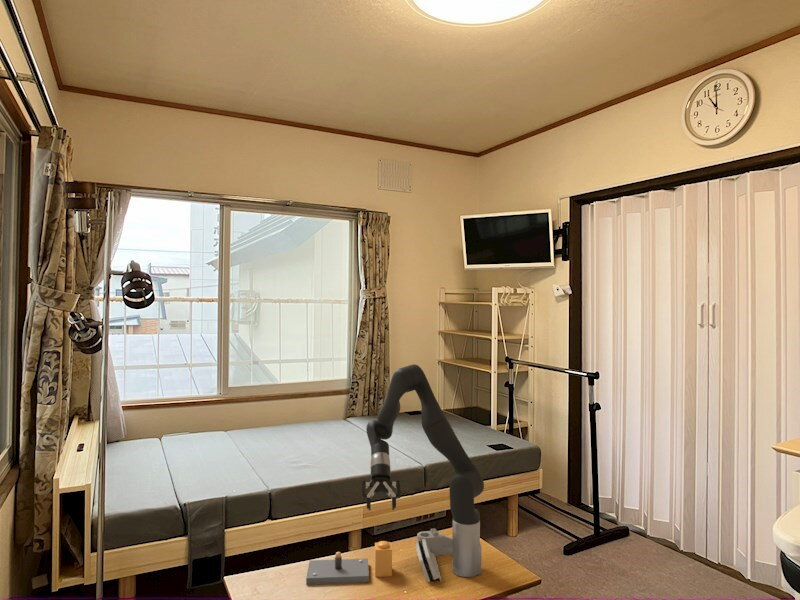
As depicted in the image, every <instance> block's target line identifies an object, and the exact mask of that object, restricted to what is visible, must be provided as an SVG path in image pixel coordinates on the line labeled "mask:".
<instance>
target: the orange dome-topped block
mask: <svg viewBox="0 0 800 600" xmlns="http://www.w3.org/2000/svg"><path fill="white" fill-rule="evenodd" d="M392 546H393V545H392V542H390V541H387V540H380V541H378V542H374V576H375V578H380V577H383V578H384V577H393V549H392V548H393V547H392Z"/></svg>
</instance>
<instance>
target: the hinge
mask: <svg viewBox="0 0 800 600" xmlns="http://www.w3.org/2000/svg"><path fill="white" fill-rule="evenodd" d="M421 544H422V545H421ZM415 549H416V554H417V558H418V561H419V564H420V567H421V570H422V573H423V575H424V578H425V581H426V583H430V582H431V580H434V581H436V579H437V580H439V581H440V582H443V581H442V577H441V573H440V570H439V566H438V561H437V558H436V556H435V555H434V553H431V552H430V550H429V547H428V544H427V542H426V539H422V540H421V542H420V541H419V540H418V541H417V540H416V542H415Z"/></svg>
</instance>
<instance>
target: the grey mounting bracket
mask: <svg viewBox="0 0 800 600" xmlns="http://www.w3.org/2000/svg"><path fill="white" fill-rule="evenodd" d="M416 534H417V535H416V542H417V541H418V540H419V541H420V542H421V540H422V539H426V542H427V544H428V547H429V550H430V552H431V553H434V555H435V557H438V556H440V555H441V556H450V555H451V556H452V545H453V537H451V536H448V535H446V534H442V533H440V532H439V530H437V529H436V528H435V527H434V528H430V530H426V531H423V530H422V531H419V532H418V533H416ZM421 545H422V544H421Z"/></svg>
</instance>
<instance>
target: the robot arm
mask: <svg viewBox="0 0 800 600" xmlns="http://www.w3.org/2000/svg"><path fill="white" fill-rule="evenodd" d="M412 391H415V393H416V394H417V396H418V399H419V402H420V406H421V426H422V429H423V431H424V434H425V435H426V437H427V439H428V441H429V443H430V444H431V446H432V447H434V449H436V450H437V452H439V453H440V454H441V455H442V456H444V457H445V458H446V459H447V460H448V462H449V463H450V464H451V466H452V467H453V470H454V471H455V473H456V474H455V475H453V476H452V477H451V479H450V482H449V508H450V512H451V514H452V538H453V545H452V555H451V556H452V557H451V559H452V563H451V564H452V568H451V569H452V572H453V573H454V574H456V575H457V576H459V577H464V578H473V577H476V576H478V575H482V544H481V529H480V528H481V513H480V510H478V509H477V508H475V498H477V497H478V496H479V495H481V494H482V493H483V492H484V488H485V483H484V479H483V477H482V474H481V473H480V472H479V470H478V469H477V467H476V465H475V464H474V462H473V461H472V460H471V458H470V457H469V455H468V454H467V452H466V450H465V449H464V447H463V445H462V443H461V442H460V440H459V438H458V437H457V435H456V432H455V431H454V429H453V427H452V425H451V423H450V422H449V420H448V418H447V417H446V414H445V412H443V409H442V408H441V406H440V404H439V402H438V401H437V398H436V396H435V394H434V392H433V390H432V388H431V385H430V383H429V380H428V378H427V376H426V374H425V372H424V370H423V369H422V367H420V366H419V365H418V364H409V365H406V366H403V367H399V368H398V369H397V368H396V370H395V371H394V372H393V374H392V376H391V379H390V383H389V387H388V390H387V393H386V397H385V400H384V402H383V404H382V406H381V408H380V410H379V412H378V413H377V419H371V420H369V421H368V422H367V424H366V431H365V432H366V434H367V435H366V436H367V438H368V441H369V444H370V451H371V452H370V481H366V480H363V481H362V484H361V499H362V500H365V501H366V509H367V510H368V511H371V505H372V503H371V502H372V501H371V499H372V498H373V496H374V495H375V494H376V495H386V494H387V496H388V497H390V498H391V509H392V510H391V511H394V510H395V509H396V508H397V500H398V499H400V498H401V495H402V494H401V493H402V491H401V483H400V480H399V479H397V480H396V481H392V477H391V476H392V475H391V474H392V473H391V459H390V446H389V443H388V442H387V440H388V439H390V438H391V437H392V436H393V432H394V431H393V429H394V424H395V421H396V420H397V417H398V416H399V414H400V412H401V403H400V400H401V398H402V397H403V396H404V395H405V394H406V393H409V392H412ZM369 487H370V491H369V492H368V493H367V494H366V489H368V488H369ZM392 487H394V488H395V489H396V490H395V491H396V492H394V491H393V489H392Z"/></svg>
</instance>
